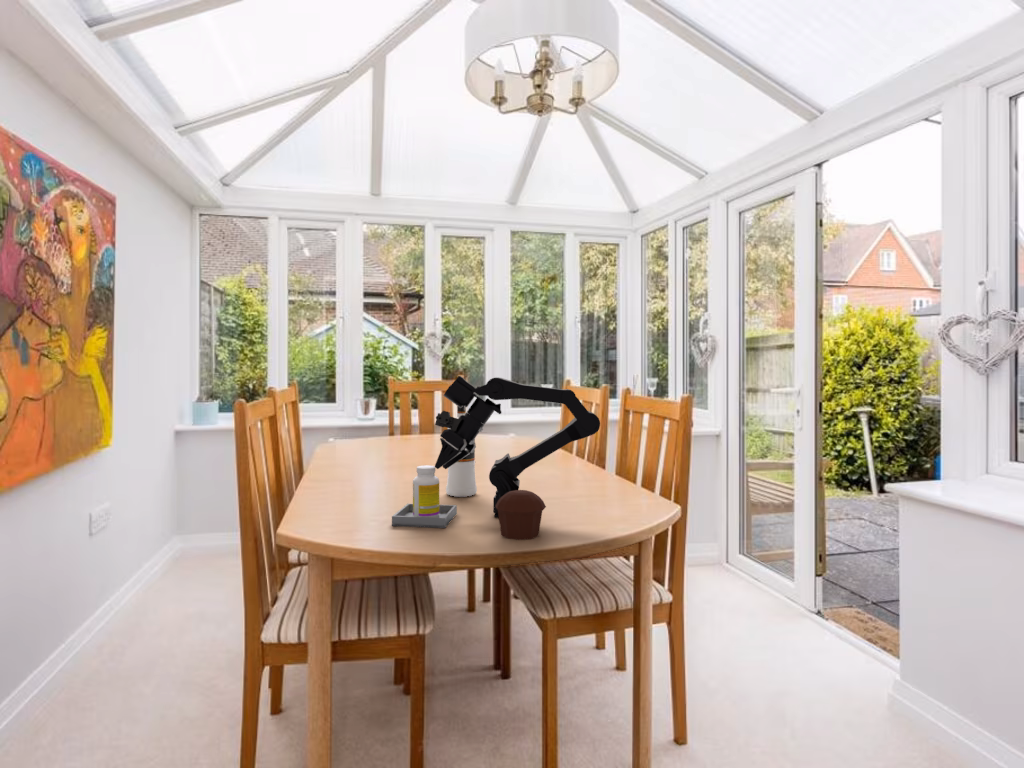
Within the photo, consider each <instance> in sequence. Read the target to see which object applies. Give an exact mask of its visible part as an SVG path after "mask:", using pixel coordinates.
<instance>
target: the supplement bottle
mask: <svg viewBox="0 0 1024 768" xmlns="http://www.w3.org/2000/svg"><path fill="white" fill-rule="evenodd" d="M435 473H436V468H435V465H426V464H425V465H418V466H416V474H417V475H416V476H415V477H414V478H413V479H412V504H413V516H415V517H439V505H440V479H439V477H438V476H436V475H435Z"/></svg>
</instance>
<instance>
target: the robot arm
mask: <svg viewBox="0 0 1024 768" xmlns="http://www.w3.org/2000/svg"><path fill="white" fill-rule="evenodd" d="M576 395H577V394H576V393H575V392H574V391H573V390H572V389H569V388H564V389H562V388H554V387H546V386H538V385H530V384H528V385H527V384H522V383H519V382H516V381H513V380H510V379H506V378H503V377H497V376H496V377H495V376H494V377H493V378H490V379H489V380H488V381H487V382H486V384H484V385H478V386H477V387H475V386H474V385H473V384H471V383H470V382H469V381H467V380H466V379H465V378H464V377H463V376H461V375H457V377H456V379H454V381H453V382H452V384H450V385H449V386H448V388H446V390H445V392H444V394H443V397H444V398H446V399H447V400H448V401H450V402H451V403H453V404H454V405H456V406H458V407H460V408H462V407H464V406H465V407H466V409H467V408H468V407H469V406H470V407H469V408H468V410H466V414H465V415H461V416H460V417H459V419H457V418H456V417H454V416H451V412H449V411H446V410H442V411H441V413H437V415H436V416H435V423H434V425H435V426H437V427H440V428H447V429H443V431H442V432H441V434H440V437H439V438H440V439H439V441H440V442H441V450H440V452H439V454H438V457H437V459H436V461H435V464H434V466H435V469H437V470H439V469H441V468H443V469H445V470H448V468H449V467H450V466H452V465H453V464H455V463H456V462H458V461H459V460H461V459H463V458H464V457H466V456H467V455H469V454H470V453H469V452H471V453H472V452H473V451H474V449H475V450H476V448H477V446H476V445H477V444H476V441H475V442H474V441H473V440H474V439H475V440H476V437H477V436H478V435H479V433H482V431H483V430H484V426H485V424H486V423H487V422H488V420H489V419H490V418H491V417H492V414H493V413H494V412H496V413H497V414H498V415H501V414H502V409H501V406H502V405H501V403H497V404H496V403H495V402H494V401H503V400H505V401H506V400H517V399H519V400H520V399H523V400H529V401H538V402H547V403H555V404H563V405H565V406H566V408H567V409H568V411H570V413H571V414H572V415H573V417H574V418H572V420H570V422H569V423H568V424H566V425H565V426H564V427H563V428H562V429H560V430H559V431H557V432H555V433H554V434H552V435H550V436H549V437H547V438H544V440H542V441H540V442H538V443H537V444H534V446H533V445H532V447H530V448H529V449H528V448H527V450H525V451H524V452H523V451H522V453H520V454H518V455H516V456H512V457H511V456H510V453H506V454H505V455H504V456H503V457H502V458H500V459H495V461H494V464H493V465H492V467H491V469H490V471H489V474H488V478H489V483H491V485H492V486H494V487H495V488H496V490H495V495H494V497H493V500H492V501H493V503H492V504H493V506H492V507H493V514H494V515H493V516H495V518H499V516H498V510H497V508H496V507H495V505H496V504H497V501H498V500H499V499H500V498H501V497H502V496H503V495H505V494H506V493H508V492H510V491H514V490H520V482H521V481H520V479H519V478H518V477H519V476H520V475H521V474H522V473H523V472H524V471H525V470H526V469H528V468H529V467H531V466H533V465H535V464H536V463H538V462H539V461H541V460H543V459H544V458H547V457H548V456H550V455H552V454H553V453H554V452H556V451H558V450H560V449H561V448H564V446H566V445H568V444H570V443H572V442H575V441H579V440H582V439H585V438H587V437H591V436H593V435H595V434H597V432H599V430H600V428H601V420H600V418H599V416H597V414H595V413H594V412H593V411H589V410H588V409H587V408H586V407H585V406H584V404H583V403H582V402H581V401H580V400H579V398H578V397H577V396H576ZM480 396H484V397H485V396H486V397H488V398H486V399H485V400H484V399H482V398H481V397H480ZM474 398H475V399H474ZM473 400H474V401H473ZM492 400H493V401H492ZM472 401H473V403H472ZM471 403H472V404H471ZM470 404H471V405H470ZM448 428H450V429H448ZM467 449H468V450H469V452H467V451H466V450H467Z"/></svg>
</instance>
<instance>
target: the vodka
mask: <svg viewBox="0 0 1024 768" xmlns="http://www.w3.org/2000/svg"><path fill="white" fill-rule="evenodd" d="M456 406H457V405H456ZM456 410H457V411H456V412H457V414H456V417H455V418H457V419H459V417H460V416H461V415H465V414H466V412H467V408H466V407H465V406H464V407H462V408H460V407H458V406H457V407H456ZM447 429H450V428H447ZM473 441H474V442H475V443H476V438H475V439H474V440H473ZM466 451H467V452H469V450H468V449H467V450H466ZM475 452H476V448H475V449H474V451H473V452H472V453H471V452H469V453H470V454H469V455H467V456H466V457H464V458H463V459H461V460H459V461H458V462H456V463H455V464H453V465H452V466H450V467H449V468H447V480H446V487H445V493H446V495H447V496H449V495H450V496H449V497H452V496H454V497H453V498H468V497H467V496H469V497H473V496H474V495H476V494H477V491H478V487H477V482H476V467H475V466H476V458H475V457H476V453H475ZM472 495H473V496H472Z"/></svg>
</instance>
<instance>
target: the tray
mask: <svg viewBox="0 0 1024 768" xmlns="http://www.w3.org/2000/svg"><path fill="white" fill-rule="evenodd" d="M457 506H458V505H456V504H439V517H415V516H413V503H407V504H406V505H404V506H403V507H401V508H400V509H399V510H398V511H396V512H395V513H394V514H393V515H391V527H405V528H407V527H408V528H430V529H431V528H433V529H446V528H447V527H446V526H448V525H449V524H450V523H451V522H452V521H453V519H454V518H455V517H456V516H457V515H458V512H457V510H458V507H457ZM456 514H457V515H456ZM455 515H456V516H455ZM454 516H455V517H454ZM453 517H454V518H453ZM451 520H452V521H451ZM450 521H451V522H450ZM449 522H450V523H449Z"/></svg>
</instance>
